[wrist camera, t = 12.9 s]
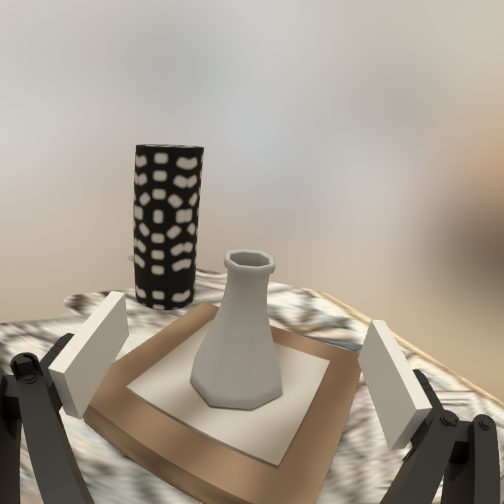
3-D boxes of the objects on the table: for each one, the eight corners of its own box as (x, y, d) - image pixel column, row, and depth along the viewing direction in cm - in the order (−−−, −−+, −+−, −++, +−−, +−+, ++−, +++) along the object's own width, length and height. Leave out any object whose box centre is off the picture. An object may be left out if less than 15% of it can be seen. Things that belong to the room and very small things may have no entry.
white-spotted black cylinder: (144, 278, 46) (147, 143, 39) (198, 284, 46) (207, 146, 40) (128, 305, 38) (126, 146, 31) (190, 313, 39) (199, 148, 32)
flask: (298, 402, 21) (330, 280, 17) (199, 419, 18) (202, 287, 15) (263, 345, 27) (280, 238, 24) (182, 353, 25) (183, 238, 21)
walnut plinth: (85, 422, 20) (71, 386, 18) (202, 330, 35) (203, 298, 34) (290, 539, 13) (306, 520, 12) (353, 385, 29) (366, 352, 27)
